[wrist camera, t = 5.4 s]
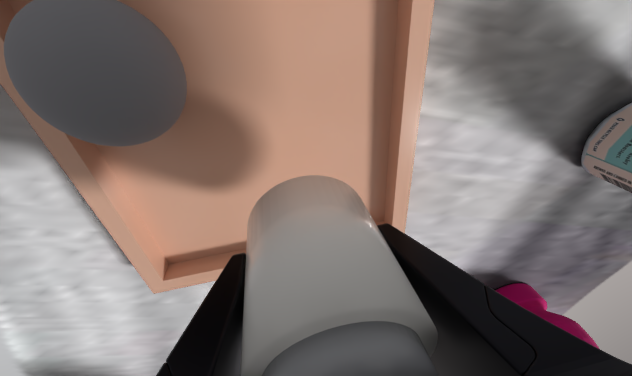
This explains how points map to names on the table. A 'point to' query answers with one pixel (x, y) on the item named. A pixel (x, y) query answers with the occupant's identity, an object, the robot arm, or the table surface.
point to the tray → (254, 124)
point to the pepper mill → (542, 309)
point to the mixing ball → (95, 70)
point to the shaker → (327, 289)
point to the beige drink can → (611, 149)
